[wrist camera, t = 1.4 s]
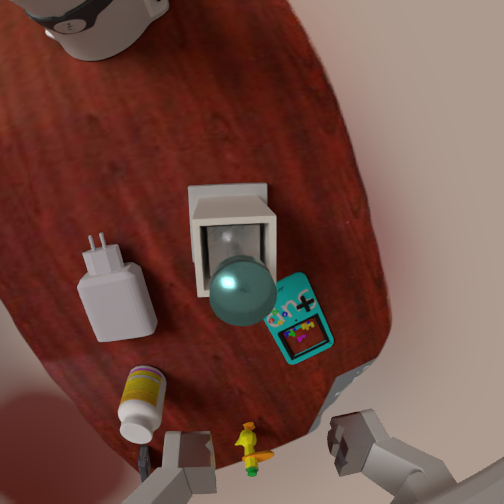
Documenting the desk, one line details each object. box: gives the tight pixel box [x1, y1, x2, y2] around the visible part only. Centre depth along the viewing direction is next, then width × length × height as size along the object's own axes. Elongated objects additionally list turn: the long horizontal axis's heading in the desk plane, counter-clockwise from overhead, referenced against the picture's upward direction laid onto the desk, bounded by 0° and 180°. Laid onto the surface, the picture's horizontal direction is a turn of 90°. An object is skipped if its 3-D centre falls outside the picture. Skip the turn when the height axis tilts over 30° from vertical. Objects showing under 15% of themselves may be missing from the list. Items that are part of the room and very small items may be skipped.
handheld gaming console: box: [264, 272, 334, 364], centre depth 49 cm, size 8×1×15 cm
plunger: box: [207, 223, 277, 326], centre depth 27 cm, size 5×5×12 cm
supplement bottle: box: [118, 366, 167, 444], centre depth 43 cm, size 7×7×13 cm
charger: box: [77, 233, 158, 342], centre depth 42 cm, size 5×9×15 cm
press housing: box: [188, 183, 276, 297], centre depth 36 cm, size 10×10×16 cm
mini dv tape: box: [138, 445, 151, 483], centre depth 53 cm, size 8×2×6 cm, turn 172°
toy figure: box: [235, 422, 274, 477], centre depth 49 cm, size 7×4×12 cm, turn 105°
